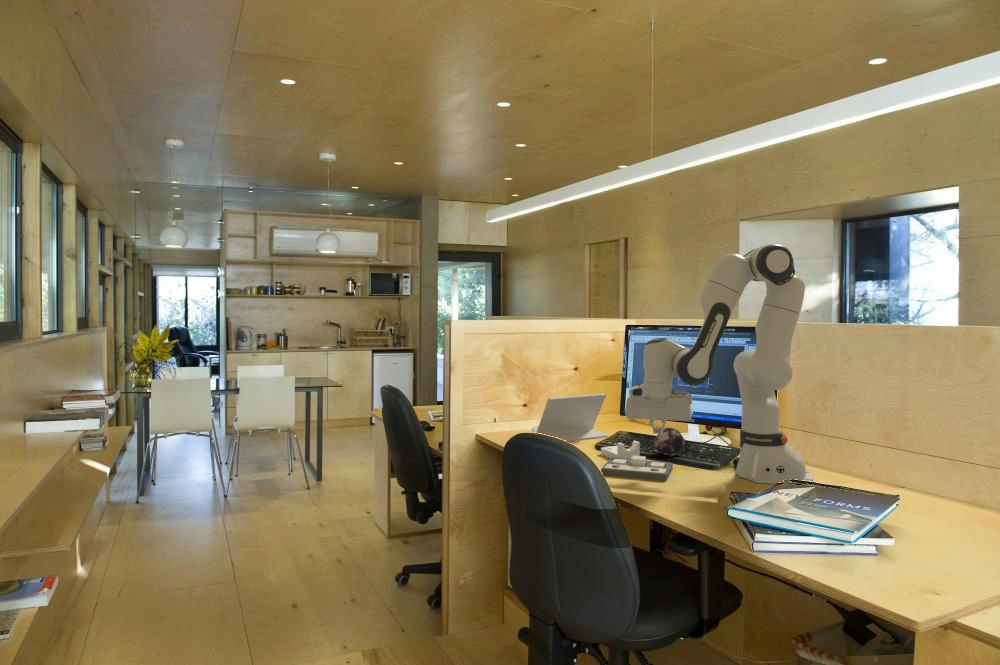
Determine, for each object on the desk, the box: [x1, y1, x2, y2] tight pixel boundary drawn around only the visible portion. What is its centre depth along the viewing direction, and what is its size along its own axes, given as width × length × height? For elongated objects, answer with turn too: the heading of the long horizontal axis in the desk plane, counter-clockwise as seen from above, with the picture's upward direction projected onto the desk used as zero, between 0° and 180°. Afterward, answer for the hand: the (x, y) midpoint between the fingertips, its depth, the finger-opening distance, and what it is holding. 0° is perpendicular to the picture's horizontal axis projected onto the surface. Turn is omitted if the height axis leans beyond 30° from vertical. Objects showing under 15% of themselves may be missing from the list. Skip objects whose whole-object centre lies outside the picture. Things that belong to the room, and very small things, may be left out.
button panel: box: [600, 457, 674, 482], centre depth 223 cm, size 20×14×3 cm
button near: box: [650, 462, 665, 469], centre depth 223 cm, size 4×4×2 cm
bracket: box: [600, 440, 641, 459], centre depth 241 cm, size 13×7×8 cm, turn 24°
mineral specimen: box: [653, 427, 686, 454], centre depth 247 cm, size 10×10×10 cm
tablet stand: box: [531, 392, 609, 442], centre depth 278 cm, size 18×25×17 cm
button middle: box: [631, 455, 647, 467], centre depth 225 cm, size 4×4×2 cm
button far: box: [612, 459, 627, 465], centre depth 227 cm, size 4×4×2 cm
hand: (658, 433), depth 222 cm, fingers closed
